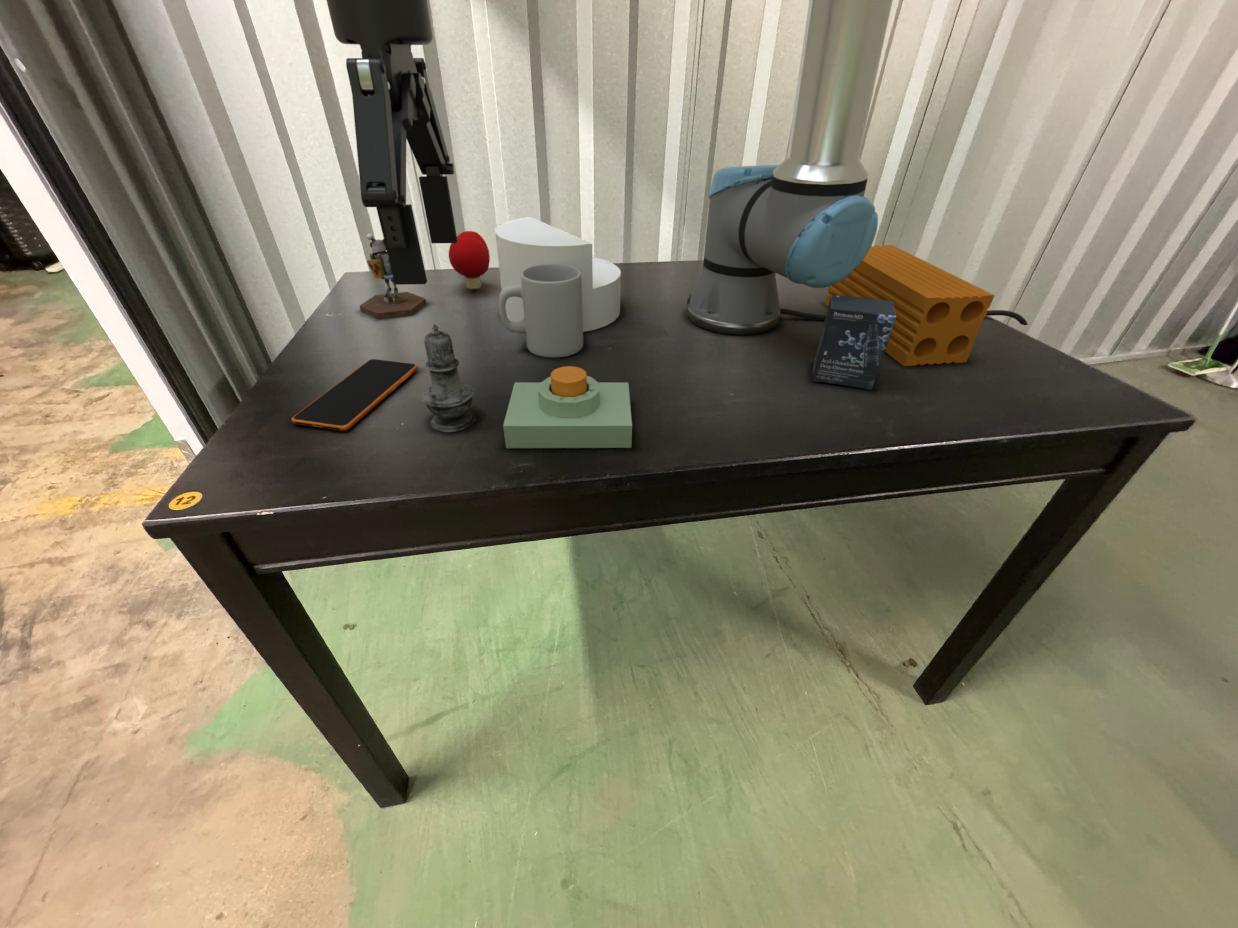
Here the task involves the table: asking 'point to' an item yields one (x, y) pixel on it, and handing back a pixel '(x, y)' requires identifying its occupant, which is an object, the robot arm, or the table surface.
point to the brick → (919, 305)
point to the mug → (548, 309)
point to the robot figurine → (387, 302)
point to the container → (549, 245)
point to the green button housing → (569, 417)
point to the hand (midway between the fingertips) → (429, 261)
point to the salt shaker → (446, 386)
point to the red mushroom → (470, 258)
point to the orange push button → (569, 381)
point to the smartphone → (355, 395)
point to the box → (853, 341)
